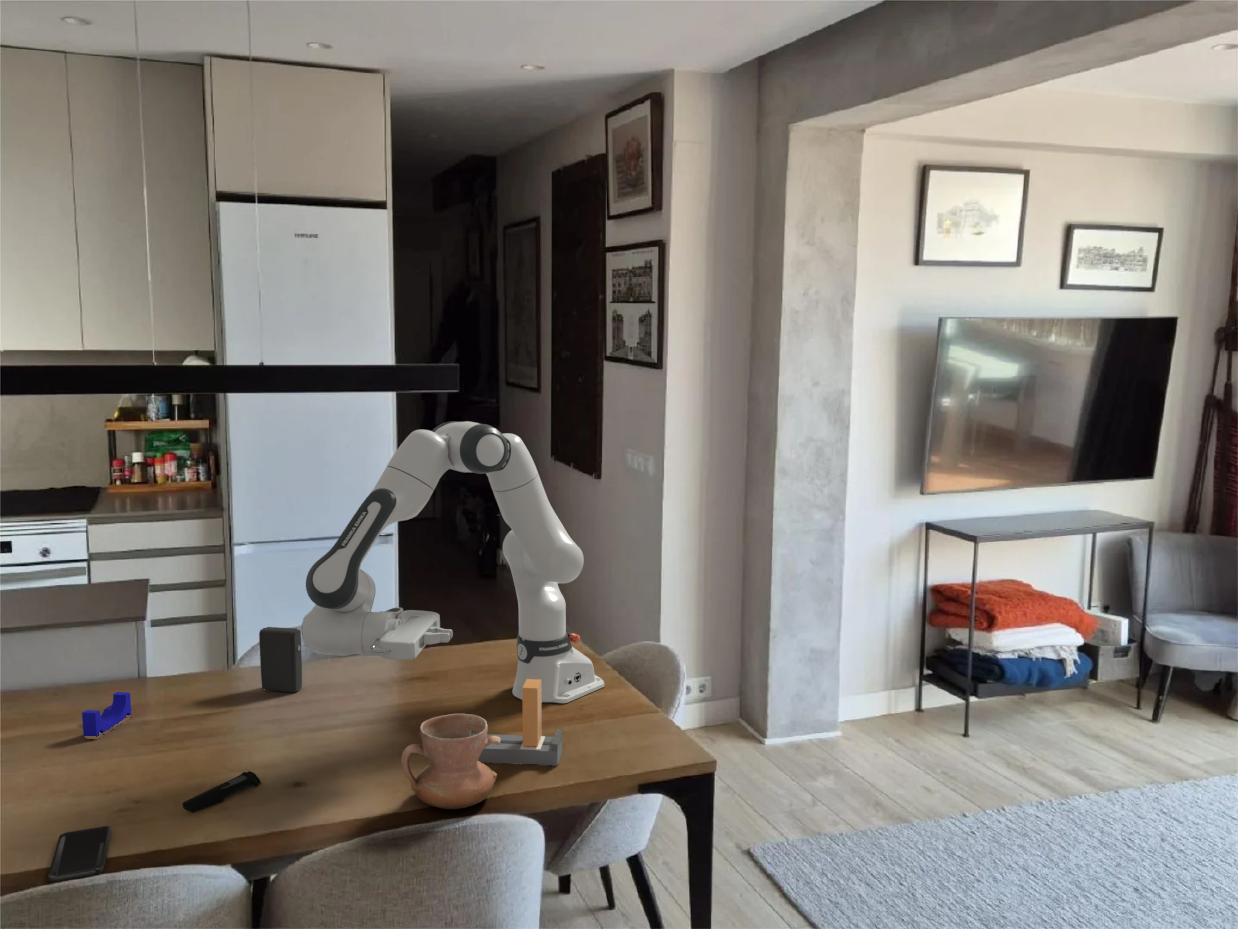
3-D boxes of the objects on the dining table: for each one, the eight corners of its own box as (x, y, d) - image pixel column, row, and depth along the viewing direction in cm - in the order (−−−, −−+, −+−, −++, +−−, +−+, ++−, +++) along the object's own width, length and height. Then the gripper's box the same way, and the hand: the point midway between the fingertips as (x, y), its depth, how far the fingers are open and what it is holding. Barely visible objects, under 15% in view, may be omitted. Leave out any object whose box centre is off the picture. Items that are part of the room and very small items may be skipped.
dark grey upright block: (304, 688, 241) (302, 627, 238) (297, 694, 237) (294, 632, 235) (268, 685, 242) (266, 625, 240) (260, 691, 238) (258, 630, 236)
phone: (47, 878, 157) (60, 833, 170) (47, 885, 157) (60, 839, 170) (103, 868, 159) (112, 825, 173) (104, 875, 160) (112, 831, 173)
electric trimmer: (177, 815, 179) (176, 799, 179) (249, 781, 192) (248, 765, 192) (191, 821, 177) (190, 804, 177) (262, 786, 191) (262, 770, 190)
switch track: (458, 761, 201) (457, 740, 200) (466, 747, 208) (466, 726, 207) (557, 766, 199) (557, 744, 199) (562, 751, 206) (562, 730, 206)
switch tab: (522, 745, 200) (522, 687, 199) (527, 735, 205) (526, 679, 204) (537, 746, 200) (537, 688, 199) (541, 736, 205) (541, 679, 203)
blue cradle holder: (112, 717, 222) (111, 691, 222) (131, 718, 222) (130, 692, 221) (77, 739, 211) (75, 712, 210) (97, 741, 210) (95, 713, 209)
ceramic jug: (496, 777, 194) (495, 706, 192) (505, 812, 181) (505, 736, 179) (401, 786, 190) (399, 714, 188) (403, 823, 176) (401, 745, 174)
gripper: (365, 635, 192) (436, 637, 190) (397, 604, 212) (462, 606, 211) (366, 667, 193) (437, 669, 191) (398, 633, 213) (463, 635, 212)
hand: (450, 636), depth 201 cm, fingers closed
